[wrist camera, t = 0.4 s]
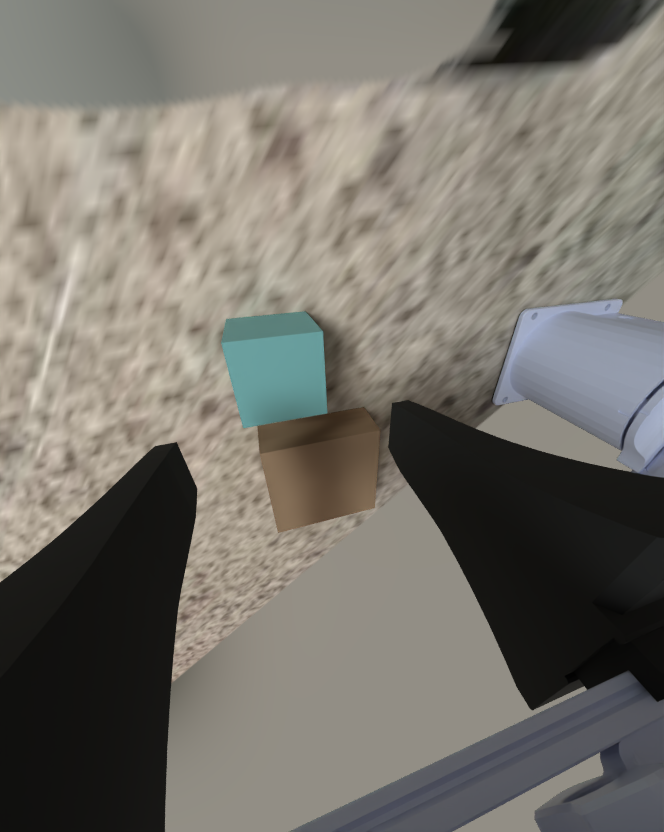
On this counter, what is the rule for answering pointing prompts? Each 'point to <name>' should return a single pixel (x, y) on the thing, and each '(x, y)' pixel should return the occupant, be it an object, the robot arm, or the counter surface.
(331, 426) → the walnut block
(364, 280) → the counter surface
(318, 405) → the teal cube
